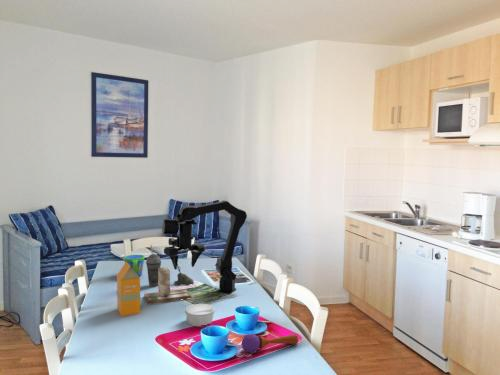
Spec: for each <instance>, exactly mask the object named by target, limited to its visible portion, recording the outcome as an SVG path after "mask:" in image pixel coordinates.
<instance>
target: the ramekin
mask: <svg viewBox="0 0 500 375" xmlns="http://www.w3.org/2000/svg"><path fill="white" fill-rule="evenodd" d="M214 312H215V308H214V306H213V305H210V304H206V303H196V304H195V303H194V304H191V305H187V307H186V308H185V315H186V320H187V323H188V324H189V325H190V326H193V327H202V326H201V325H206V326H208V325H207V324H209V323H210V324H212V322H213V318H214ZM210 324H209V325H210Z"/></svg>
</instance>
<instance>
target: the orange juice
mask: <svg viewBox="0 0 500 375" xmlns="http://www.w3.org/2000/svg"><path fill="white" fill-rule="evenodd" d="M116 301H117V302H116V304H117V307H116V308H117V309H116V310H117V311H118V312H119V315H120V316H121V317H125V316H132V315H139V314H141V278H140V276H138V275H137V274H136V272H135V271H134V270H133V269H132V267H131V266H130V265H129V264H128V263H127V262H125V261H124V264H123V266H122V267H121V268H120V270H119V272H118V273H117V274H116Z"/></svg>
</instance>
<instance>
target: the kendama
mask: <svg viewBox="0 0 500 375" xmlns="http://www.w3.org/2000/svg"><path fill="white" fill-rule="evenodd" d="M298 342H299V337H298V335H297V334H296V333H293V334H290V335H289V334H288V335H284V336H279V337H275V338H271V339H268V338H266V337H263V336H261V335H258V336H257V335H256V334H254V333H247V334H246V335H244V336H243V338H242V340H241V346H242V347H241V348H242V349H243V350H244V351H245V352H246V353H248V352H250V353H249V354H252V353H251V352H254V353H256V352H257V351H258V350H259V348H260V350H261V349H263V348H265V347H266V346H267V345H269V344H285V345H288V344H289V345H290V344H291V345H297V344H298ZM255 351H256V352H255Z"/></svg>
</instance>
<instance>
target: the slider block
mask: <svg viewBox="0 0 500 375" xmlns="http://www.w3.org/2000/svg"><path fill="white" fill-rule="evenodd" d="M157 287H158V291H157V292H159V293H160V295H161V296H165V297H167V295H170V291H171V270H170V268H169V266H165V267H160V268H158V286H157Z"/></svg>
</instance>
